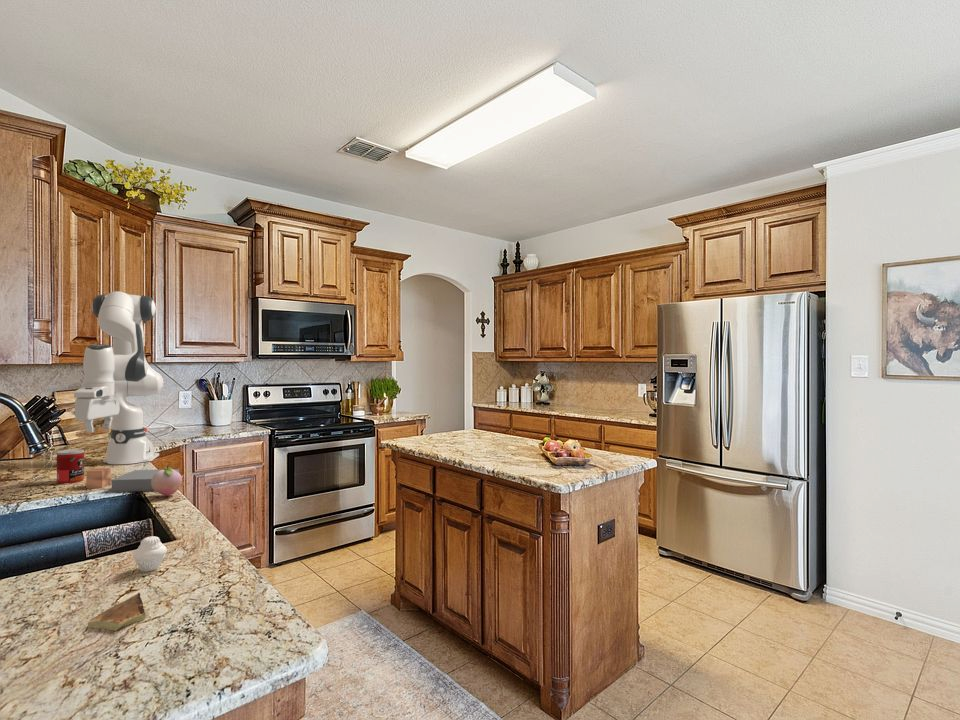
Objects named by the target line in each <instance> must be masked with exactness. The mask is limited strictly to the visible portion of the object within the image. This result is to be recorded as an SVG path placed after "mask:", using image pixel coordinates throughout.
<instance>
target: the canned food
mask: <svg viewBox="0 0 960 720" xmlns="http://www.w3.org/2000/svg"><path fill="white" fill-rule="evenodd" d="M84 478H85V450H84V449H82V448H80V449H79V448H78V449H77V448H76V449H74V448H73V449H62V450H59V451H57V452H56V483H58V484H60V483H69V484H75V483H76V484H77V483H80V482H83V480H84Z"/></svg>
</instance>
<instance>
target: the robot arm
mask: <svg viewBox="0 0 960 720" xmlns="http://www.w3.org/2000/svg"><path fill="white" fill-rule="evenodd" d="M91 311H92V313H93V315H94V317H96V319H97V325H98V327H99V328H100V329H101V331H103V333H105V334H107V335H108V336H110V337H112V346H111V345H109V344H99V343H98V344H91V345H88V346H86V347H85V350H84V355H83V362H82V373H83V375H84V378H83V381H82V386H80V388H79V389H76V390H75V391H74V392H73V397H74V398H75V400H74V417H75V419H76V420H77V421H83V424H84V427H85V428H86V429H85V432H86V434H92V433H94V432H96V431H95V429H96V428H95V427H94V426H93V425H94V424H93V423H94V420H96V419H97V420H98V419H101V418H103V419H104V421H103V424H102V429H103V430H110V438H111V439H110V440H109V441H108V443H107V449H106V457H105V458H104V459H103V461H102V463H106V464H108V465H129V464H137V463H145V462H152V461H153V460H155V459H156V458H158V457H159V456H160V453H159V452H154V443H153V442H152V441H151V440H149V438H148V437H147V436H146V433H147V432H148V431H149V428H148V427H144V411H143V409H142V407H140V406H138V405H136V404H134V403H130V402H128V401H127V398H128V397H147V396H153V395H158V394H159V393H160V392H161V391H162V390H163V387H164V383H165V382H164V379H163V376H162V375H161V374H160V373H159V372H158V371H156V370H155V369H153V368H152V367H151V366H150V364H149V363H148V361H147V359H146V354H145V332H144V326H143V324H147V322H148V321H151V320H152V319H153V318H154V317H155V314H156V311H157V307H156V303H155V301H154V299H153V298H152V297H151V296H149V295H138V294H129V293H126V292H124V291H118V290H117V291H116V290H115V291H112V292H110V293H108V294H106V293H105V294H99V295H96V296H95V297H94V298H93V299H92V303H91Z"/></svg>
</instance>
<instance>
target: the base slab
mask: <svg viewBox="0 0 960 720" xmlns="http://www.w3.org/2000/svg"><path fill="white" fill-rule="evenodd" d="M172 469H173V468H172ZM161 470H162V469H137V470H136V469H134V470H132V471H130V472H127V473H126V474H125V473H124V474H123V475H120V476H118V477H116V478H114V479H113V478H112V479H111V492H112V493H117V492H123V493H124V492H126V493H127V492H153V491H154V492H156V491H155V490H154V489H153V488H152V485H151V481H152V478H153V476H154V475H155V474H156V473H157V472H158V471H161ZM173 470H175V471H177V472H179V473H180V469H179V468H177V469H176V468H175V469H173Z"/></svg>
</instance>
